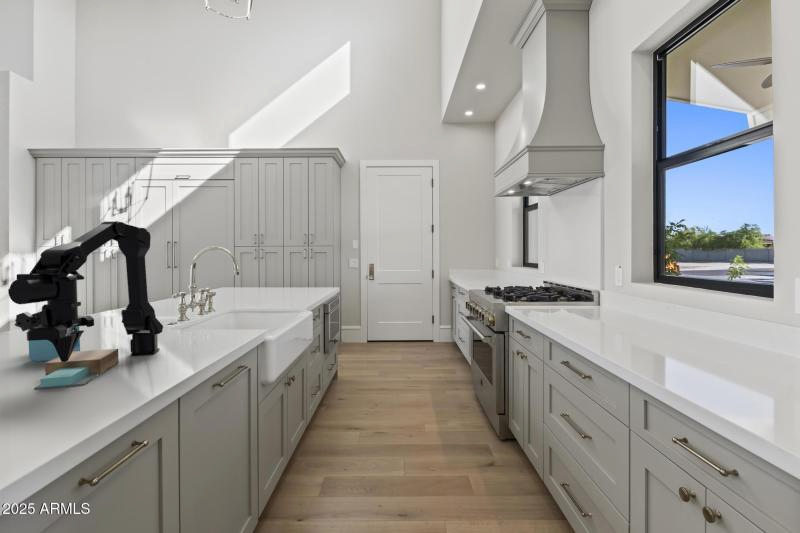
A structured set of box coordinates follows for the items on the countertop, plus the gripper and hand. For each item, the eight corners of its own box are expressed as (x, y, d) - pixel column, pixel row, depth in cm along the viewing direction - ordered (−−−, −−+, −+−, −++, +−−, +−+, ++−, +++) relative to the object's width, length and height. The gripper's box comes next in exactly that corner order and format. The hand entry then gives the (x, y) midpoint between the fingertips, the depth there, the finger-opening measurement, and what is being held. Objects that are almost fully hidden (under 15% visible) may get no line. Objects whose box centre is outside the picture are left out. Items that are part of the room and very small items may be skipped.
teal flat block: (88, 373, 104) (88, 366, 104) (70, 384, 96) (70, 376, 96) (61, 375, 103) (61, 368, 103) (40, 387, 94) (40, 378, 94)
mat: (102, 373, 106) (102, 371, 106) (84, 385, 97) (84, 383, 97) (57, 376, 103) (57, 375, 103) (34, 389, 94) (34, 387, 94)
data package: (80, 357, 123) (79, 318, 122) (68, 361, 118) (66, 321, 118) (42, 357, 123) (41, 318, 123) (28, 361, 119) (27, 321, 118)
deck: (118, 362, 117) (118, 348, 117) (100, 374, 105) (100, 359, 105) (69, 365, 113) (69, 351, 113) (45, 378, 102) (45, 363, 102)
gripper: (44, 296, 106) (46, 354, 106) (-4, 305, 88) (-1, 375, 88) (94, 294, 109) (96, 351, 109) (57, 303, 91) (59, 371, 91)
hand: (64, 361), depth 100 cm, fingers closed
